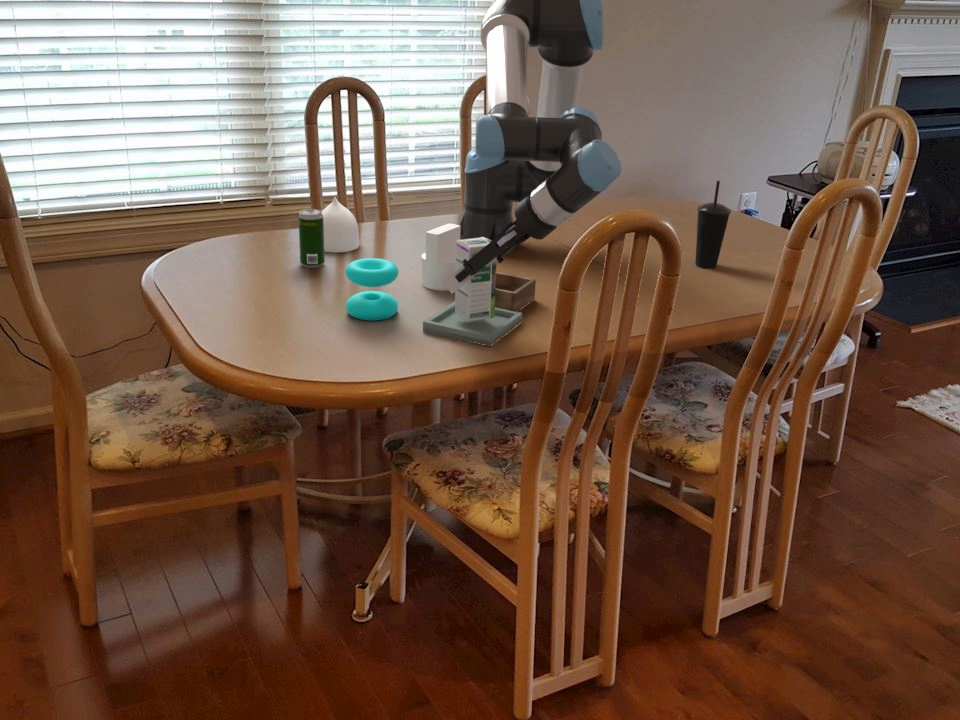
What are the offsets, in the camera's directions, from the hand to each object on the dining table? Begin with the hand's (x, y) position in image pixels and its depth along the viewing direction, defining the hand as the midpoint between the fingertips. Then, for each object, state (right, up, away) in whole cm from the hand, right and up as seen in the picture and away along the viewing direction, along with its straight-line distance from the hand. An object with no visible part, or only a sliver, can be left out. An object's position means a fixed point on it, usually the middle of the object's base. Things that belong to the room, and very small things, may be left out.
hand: (458, 281), depth 174 cm
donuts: (-17, -6, +7) cm, 19 cm away
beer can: (-33, +6, +32) cm, 47 cm away
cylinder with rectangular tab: (-4, +1, +24) cm, 25 cm away
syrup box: (+3, -7, +1) cm, 7 cm away
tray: (+3, -9, +2) cm, 9 cm away
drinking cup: (+57, +7, +44) cm, 72 cm away
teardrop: (-30, +12, +46) cm, 56 cm away
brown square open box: (+8, -3, +15) cm, 17 cm away
